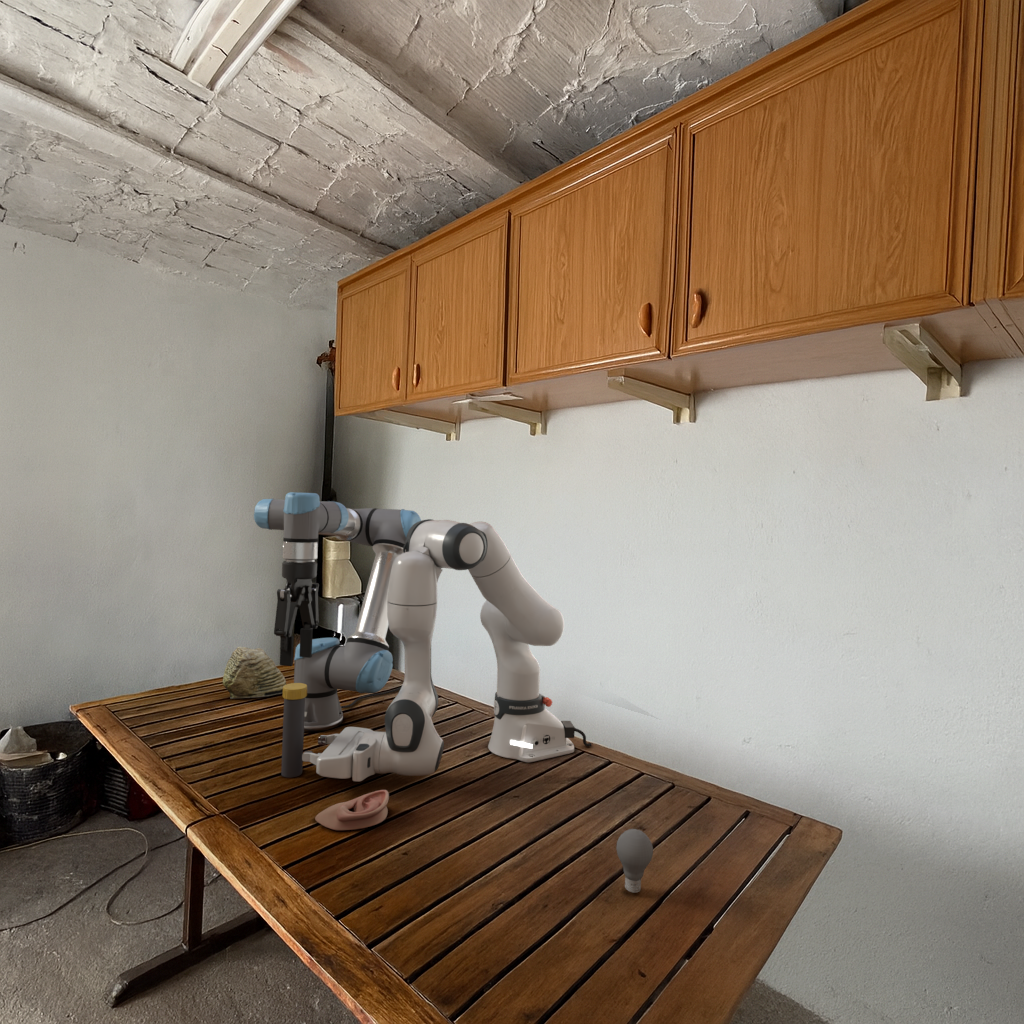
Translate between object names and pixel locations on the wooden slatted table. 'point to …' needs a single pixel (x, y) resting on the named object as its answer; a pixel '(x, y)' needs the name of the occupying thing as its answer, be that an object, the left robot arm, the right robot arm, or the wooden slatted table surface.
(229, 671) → the fossil
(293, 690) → the lid
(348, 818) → the anatomical model
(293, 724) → the dark grey slim bottle
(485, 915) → the wooden slatted table surface
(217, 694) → the wooden slatted table surface
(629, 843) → the light bulb
